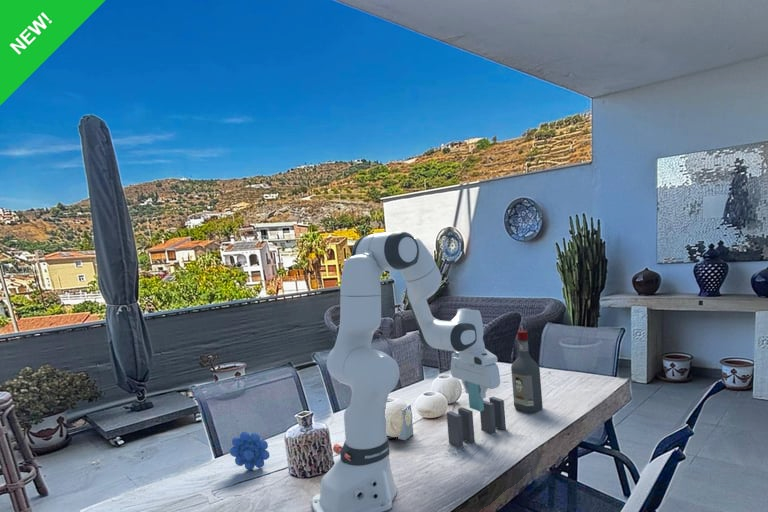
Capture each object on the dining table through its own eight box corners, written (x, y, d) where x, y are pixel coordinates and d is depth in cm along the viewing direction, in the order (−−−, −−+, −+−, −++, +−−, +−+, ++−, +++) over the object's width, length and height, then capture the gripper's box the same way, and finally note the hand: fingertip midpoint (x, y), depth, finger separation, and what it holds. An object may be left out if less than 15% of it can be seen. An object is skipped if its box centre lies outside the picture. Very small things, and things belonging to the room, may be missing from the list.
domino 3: (480, 411, 136) (477, 381, 136) (469, 407, 140) (467, 378, 140) (484, 410, 137) (481, 380, 137) (473, 406, 141) (471, 377, 141)
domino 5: (502, 430, 141) (500, 401, 141) (491, 425, 145) (489, 397, 146) (505, 428, 142) (503, 400, 142) (495, 424, 146) (492, 396, 147)
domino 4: (492, 434, 139) (489, 405, 139) (481, 429, 143) (479, 401, 143) (495, 432, 140) (493, 403, 140) (485, 428, 144) (482, 400, 144)
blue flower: (228, 480, 121) (225, 440, 121) (232, 469, 128) (230, 430, 128) (268, 473, 123) (266, 434, 123) (271, 463, 130) (268, 425, 130)
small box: (413, 434, 143) (411, 404, 143) (405, 441, 139) (403, 410, 139) (394, 430, 148) (392, 401, 148) (386, 436, 143) (383, 406, 143)
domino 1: (459, 448, 131) (456, 416, 131) (448, 442, 135) (446, 412, 135) (463, 446, 132) (461, 415, 132) (453, 441, 136) (450, 411, 136)
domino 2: (470, 443, 133) (468, 412, 133) (460, 438, 138) (457, 408, 138) (474, 441, 134) (472, 411, 134) (464, 436, 138) (461, 407, 139)
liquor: (525, 402, 165) (519, 328, 165) (545, 408, 157) (539, 330, 158) (511, 409, 159) (505, 332, 160) (531, 415, 152) (525, 334, 152)
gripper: (445, 351, 146) (448, 390, 146) (487, 361, 129) (491, 405, 129) (458, 348, 149) (461, 386, 149) (501, 357, 132) (504, 400, 132)
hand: (475, 395), depth 139 cm, fingers closed on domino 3, 5 cm apart
